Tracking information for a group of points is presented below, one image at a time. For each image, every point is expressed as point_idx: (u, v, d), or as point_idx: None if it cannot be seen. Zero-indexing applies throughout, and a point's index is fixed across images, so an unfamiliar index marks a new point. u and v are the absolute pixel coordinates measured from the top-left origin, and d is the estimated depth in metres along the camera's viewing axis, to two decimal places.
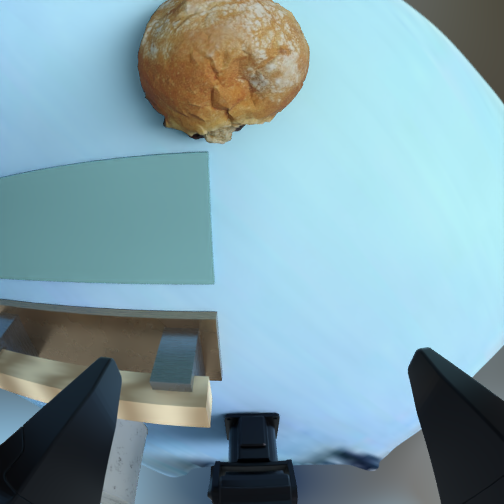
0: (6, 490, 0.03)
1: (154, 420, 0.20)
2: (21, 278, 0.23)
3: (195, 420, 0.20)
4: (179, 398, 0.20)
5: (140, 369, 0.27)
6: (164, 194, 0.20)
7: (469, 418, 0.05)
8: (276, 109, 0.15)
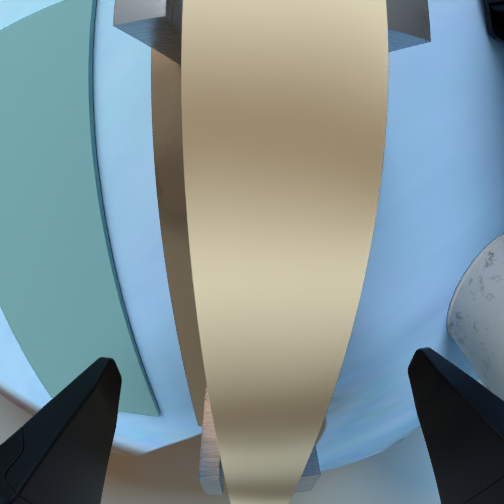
0: (6, 490, 0.03)
1: (356, 22, 0.03)
2: (134, 355, 0.16)
3: None
4: None
5: None
6: None
7: (469, 418, 0.05)
8: None
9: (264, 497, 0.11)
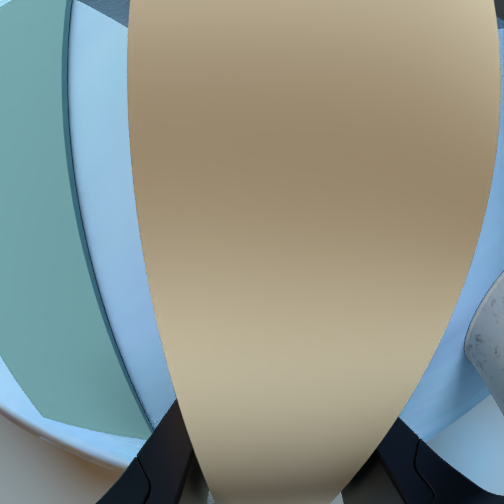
0: None
1: None
2: (125, 383, 0.14)
3: None
4: None
5: None
6: None
7: None
8: None
9: None
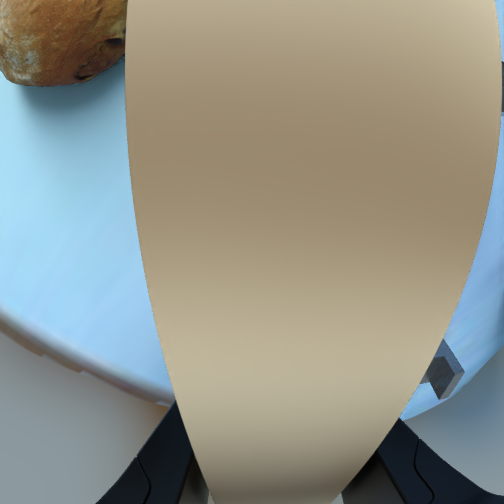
0: None
1: None
2: None
3: None
4: None
5: None
6: None
7: None
8: None
9: None
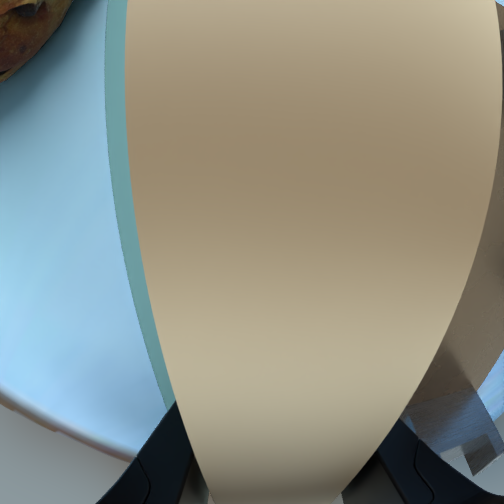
0: None
1: None
2: None
3: None
4: None
5: None
6: None
7: None
8: None
9: None
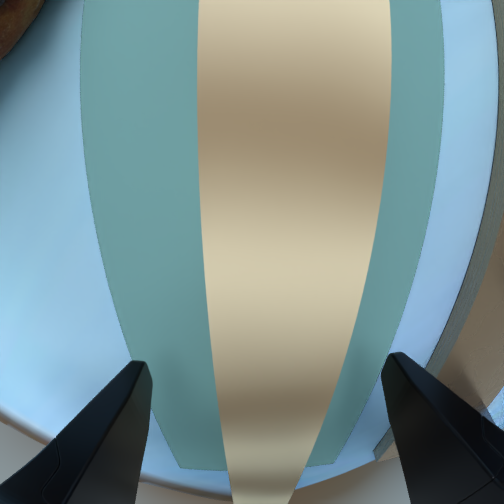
0: None
1: (361, 26, 0.03)
2: (359, 412, 0.13)
3: None
4: None
5: None
6: None
7: (439, 429, 0.05)
8: None
9: (266, 492, 0.11)
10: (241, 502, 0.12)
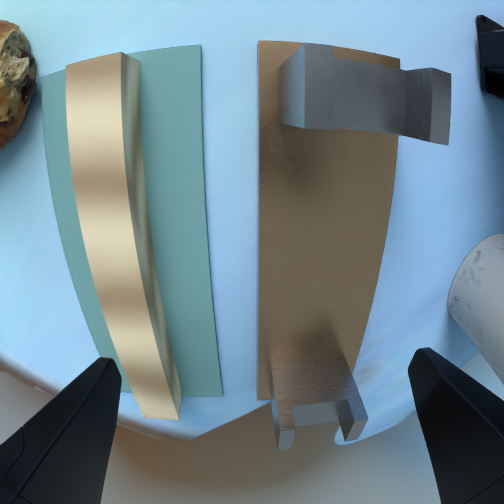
0: (6, 490, 0.03)
1: (113, 143, 0.12)
2: (214, 341, 0.21)
3: (101, 76, 0.11)
4: None
5: (377, 190, 0.16)
6: None
7: (469, 418, 0.05)
8: None
9: (152, 392, 0.20)
10: (143, 406, 0.20)
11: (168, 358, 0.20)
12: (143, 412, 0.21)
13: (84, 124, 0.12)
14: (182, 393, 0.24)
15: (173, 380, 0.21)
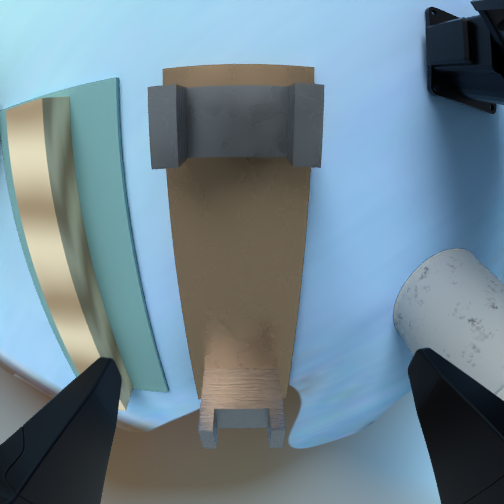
0: (6, 490, 0.03)
1: (42, 176, 0.13)
2: (151, 342, 0.23)
3: (29, 119, 0.12)
4: None
5: (289, 207, 0.17)
6: None
7: (469, 418, 0.05)
8: None
9: None
10: None
11: (111, 355, 0.22)
12: None
13: (21, 160, 0.13)
14: (132, 387, 0.25)
15: None
